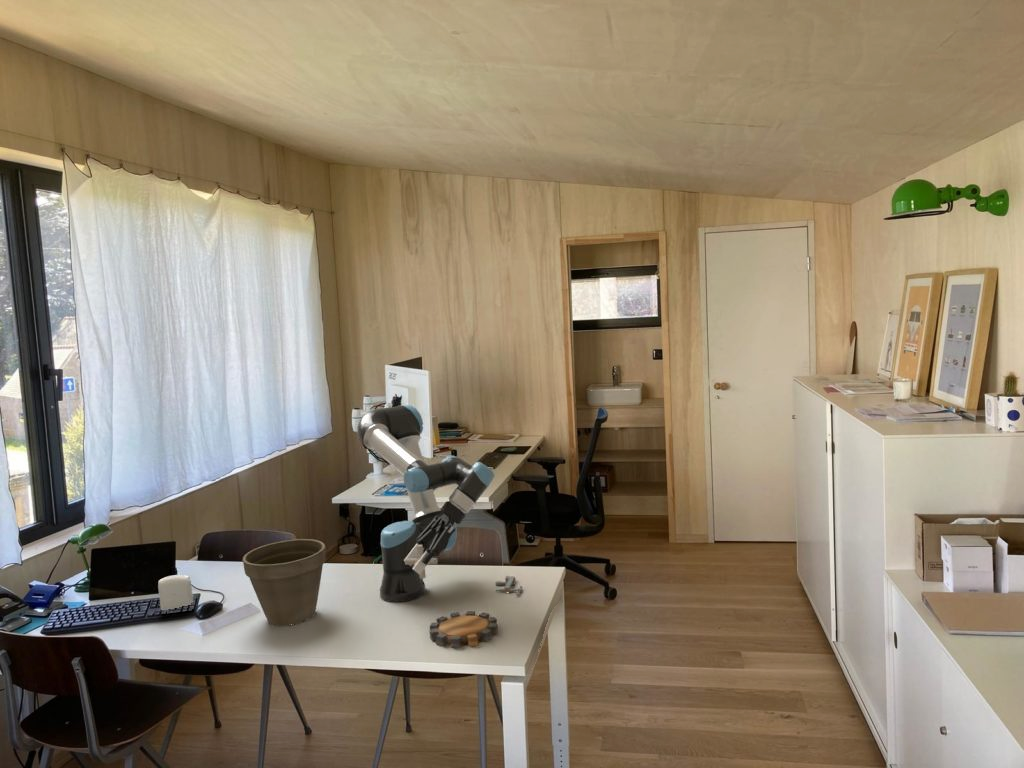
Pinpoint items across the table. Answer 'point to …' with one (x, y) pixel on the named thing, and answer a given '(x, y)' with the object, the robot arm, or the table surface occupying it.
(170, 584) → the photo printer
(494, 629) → the sprocket wheel
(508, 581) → the clamp
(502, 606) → the table surface
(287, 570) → the plant pot
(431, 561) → the pipe connector
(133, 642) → the table surface
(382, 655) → the table surface
